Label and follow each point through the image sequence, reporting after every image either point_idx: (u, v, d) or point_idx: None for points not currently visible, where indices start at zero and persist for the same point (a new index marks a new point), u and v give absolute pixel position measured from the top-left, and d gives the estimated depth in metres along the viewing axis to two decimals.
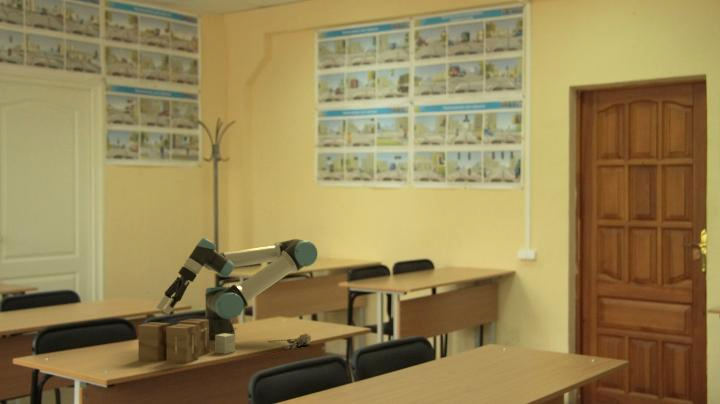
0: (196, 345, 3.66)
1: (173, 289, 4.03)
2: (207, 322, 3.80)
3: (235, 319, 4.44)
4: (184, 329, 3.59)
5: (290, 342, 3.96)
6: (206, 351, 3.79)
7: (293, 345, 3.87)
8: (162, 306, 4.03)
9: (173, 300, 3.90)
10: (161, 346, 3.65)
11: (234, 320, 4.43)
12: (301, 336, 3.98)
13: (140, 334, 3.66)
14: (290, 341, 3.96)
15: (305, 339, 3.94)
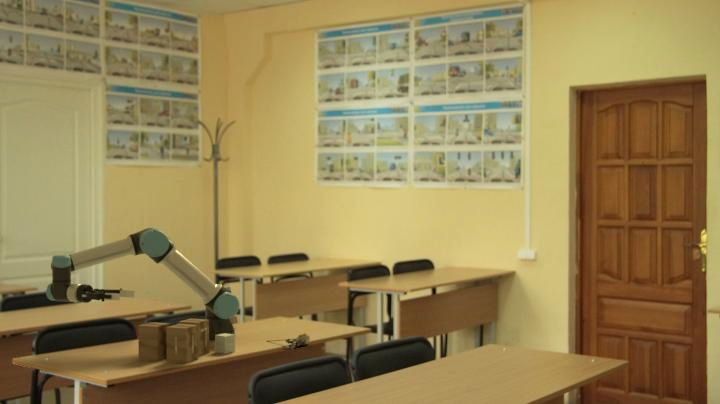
0: (196, 345, 3.66)
1: None
2: (207, 322, 3.80)
3: (234, 319, 4.44)
4: (184, 329, 3.59)
5: (289, 342, 3.97)
6: (206, 351, 3.79)
7: (292, 345, 3.88)
8: (129, 292, 3.78)
9: None
10: (161, 346, 3.65)
11: (233, 320, 4.44)
12: (300, 336, 3.98)
13: (140, 334, 3.66)
14: (289, 341, 3.97)
15: (304, 339, 3.94)
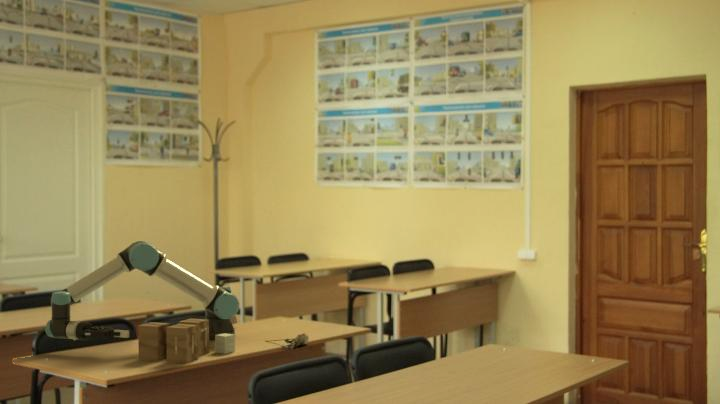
0: (196, 345, 3.66)
1: None
2: (207, 322, 3.80)
3: (234, 319, 4.45)
4: (184, 329, 3.59)
5: (288, 342, 3.97)
6: (206, 351, 3.79)
7: (291, 345, 3.88)
8: None
9: (113, 335, 3.73)
10: (161, 346, 3.65)
11: (233, 320, 4.44)
12: (299, 336, 3.99)
13: (140, 334, 3.66)
14: (288, 341, 3.97)
15: (303, 339, 3.95)
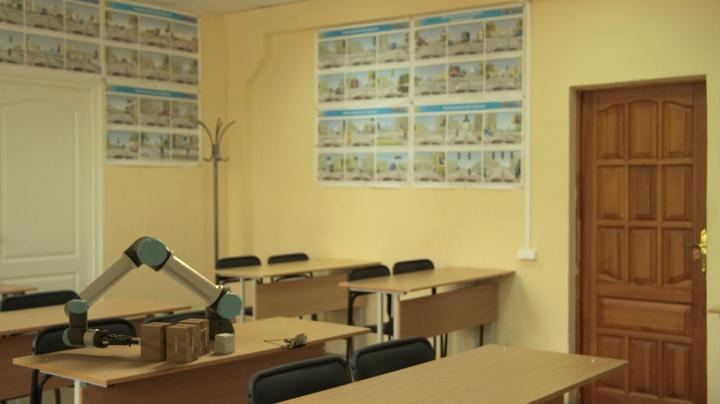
0: (196, 345, 3.66)
1: None
2: (207, 322, 3.80)
3: (233, 319, 4.45)
4: (184, 329, 3.59)
5: (287, 342, 3.97)
6: (206, 351, 3.79)
7: (290, 345, 3.88)
8: None
9: (131, 343, 3.71)
10: (163, 346, 3.65)
11: (232, 320, 4.44)
12: (298, 336, 3.99)
13: (142, 334, 3.65)
14: (287, 341, 3.97)
15: (302, 339, 3.95)
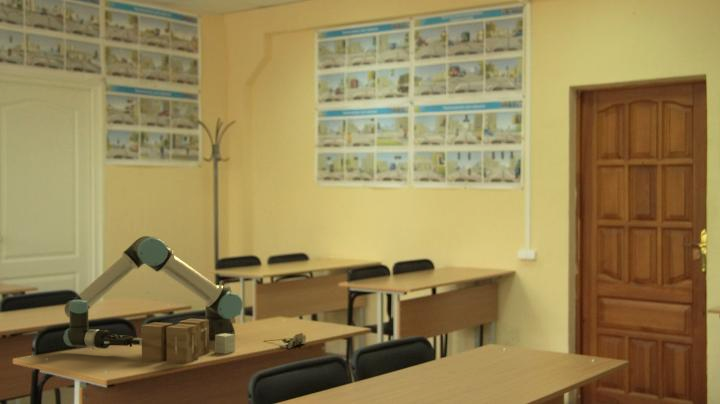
0: (196, 345, 3.66)
1: None
2: (207, 322, 3.80)
3: (232, 319, 4.45)
4: (184, 329, 3.59)
5: (285, 341, 3.98)
6: (206, 351, 3.79)
7: (289, 344, 3.89)
8: None
9: (132, 343, 3.71)
10: (164, 346, 3.65)
11: (231, 320, 4.44)
12: (296, 335, 3.99)
13: (143, 334, 3.65)
14: (285, 340, 3.98)
15: (301, 338, 3.95)
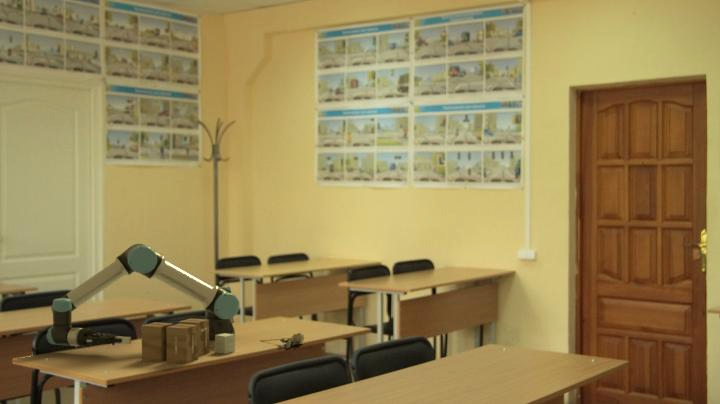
0: (196, 345, 3.66)
1: None
2: (207, 322, 3.80)
3: (231, 319, 4.45)
4: (184, 329, 3.59)
5: (284, 341, 3.98)
6: (206, 351, 3.79)
7: (287, 344, 3.89)
8: None
9: (114, 342, 3.73)
10: (164, 346, 3.65)
11: None
12: (294, 335, 4.00)
13: (143, 334, 3.65)
14: (283, 340, 3.98)
15: (299, 338, 3.96)
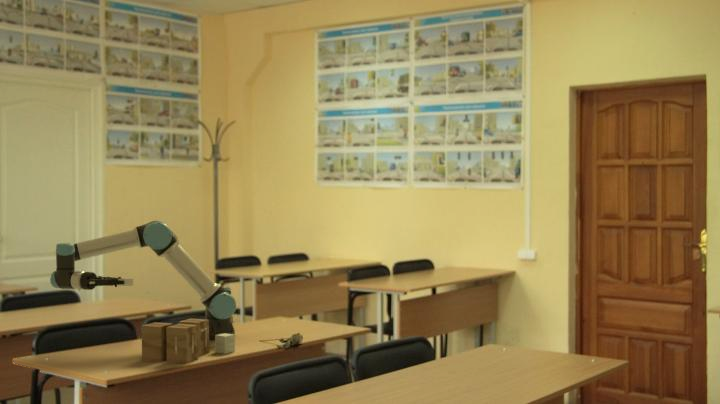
0: (196, 345, 3.66)
1: None
2: (207, 322, 3.80)
3: None
4: (184, 329, 3.59)
5: (283, 341, 3.98)
6: (206, 351, 3.79)
7: (287, 344, 3.89)
8: None
9: (117, 284, 3.79)
10: (164, 346, 3.65)
11: None
12: (293, 335, 4.00)
13: (143, 334, 3.65)
14: (283, 340, 3.98)
15: (298, 338, 3.96)
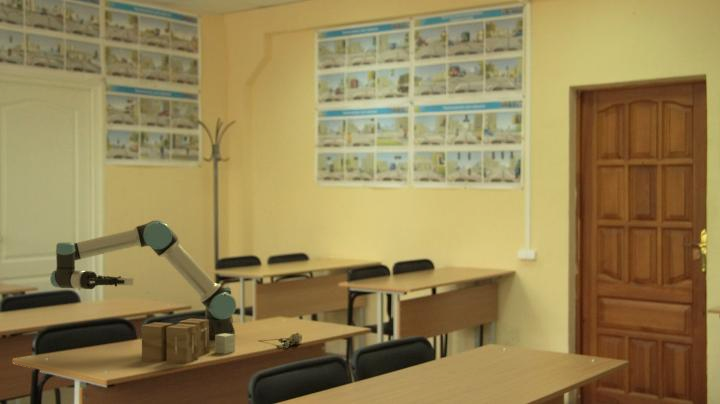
0: (196, 345, 3.66)
1: None
2: (207, 322, 3.80)
3: None
4: (184, 329, 3.59)
5: (282, 341, 3.98)
6: (206, 351, 3.79)
7: (286, 344, 3.90)
8: None
9: None
10: (164, 346, 3.65)
11: None
12: (293, 335, 4.00)
13: (143, 334, 3.65)
14: (282, 340, 3.99)
15: (297, 338, 3.96)
